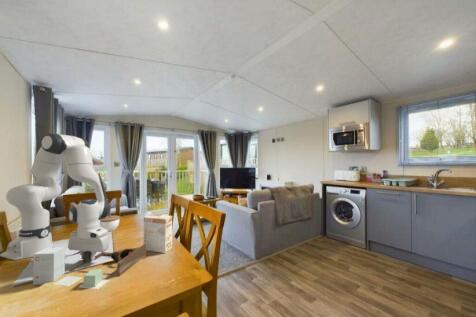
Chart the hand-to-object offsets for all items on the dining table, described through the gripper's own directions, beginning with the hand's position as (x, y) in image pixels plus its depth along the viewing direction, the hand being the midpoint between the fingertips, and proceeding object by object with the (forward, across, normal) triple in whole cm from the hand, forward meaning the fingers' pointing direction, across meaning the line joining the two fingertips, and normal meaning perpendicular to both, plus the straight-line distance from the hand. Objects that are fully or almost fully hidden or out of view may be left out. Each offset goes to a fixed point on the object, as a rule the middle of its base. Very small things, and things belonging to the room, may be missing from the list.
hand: (88, 258), depth 101 cm
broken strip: (+2, +12, -16) cm, 20 cm away
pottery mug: (+2, +18, +2) cm, 18 cm away
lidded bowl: (+2, -26, +45) cm, 52 cm away
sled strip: (+2, +12, 0) cm, 13 cm away
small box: (+2, -4, -15) cm, 16 cm away
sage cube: (+1, +18, -16) cm, 24 cm away
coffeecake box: (+2, +26, +20) cm, 33 cm away
